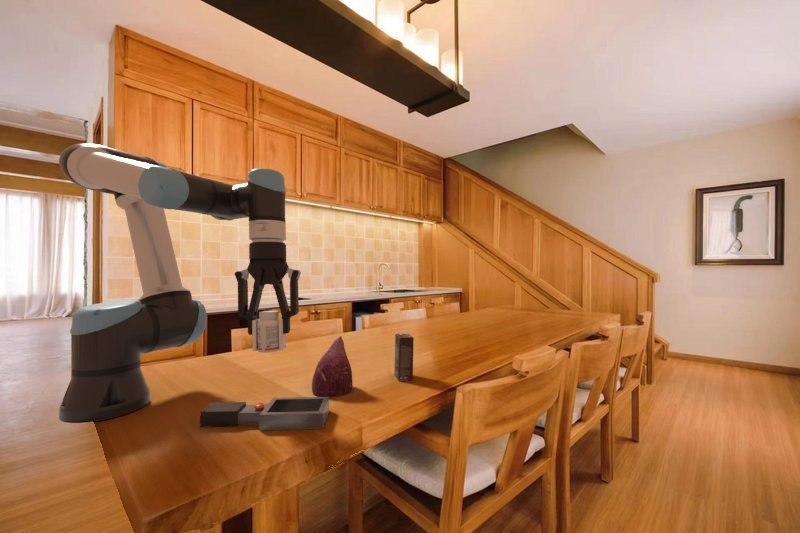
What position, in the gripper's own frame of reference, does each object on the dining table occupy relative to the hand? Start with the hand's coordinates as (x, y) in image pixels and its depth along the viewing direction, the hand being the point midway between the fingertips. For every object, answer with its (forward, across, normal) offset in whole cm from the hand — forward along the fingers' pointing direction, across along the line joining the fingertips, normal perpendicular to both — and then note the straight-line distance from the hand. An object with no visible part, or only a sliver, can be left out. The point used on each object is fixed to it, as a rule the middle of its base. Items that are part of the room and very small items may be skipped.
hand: (269, 348), depth 74 cm
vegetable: (+14, +12, +13) cm, 22 cm away
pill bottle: (+1, 0, 0) cm, 1 cm away
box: (+14, +31, +22) cm, 40 cm away
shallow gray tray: (+14, +1, -4) cm, 14 cm away
